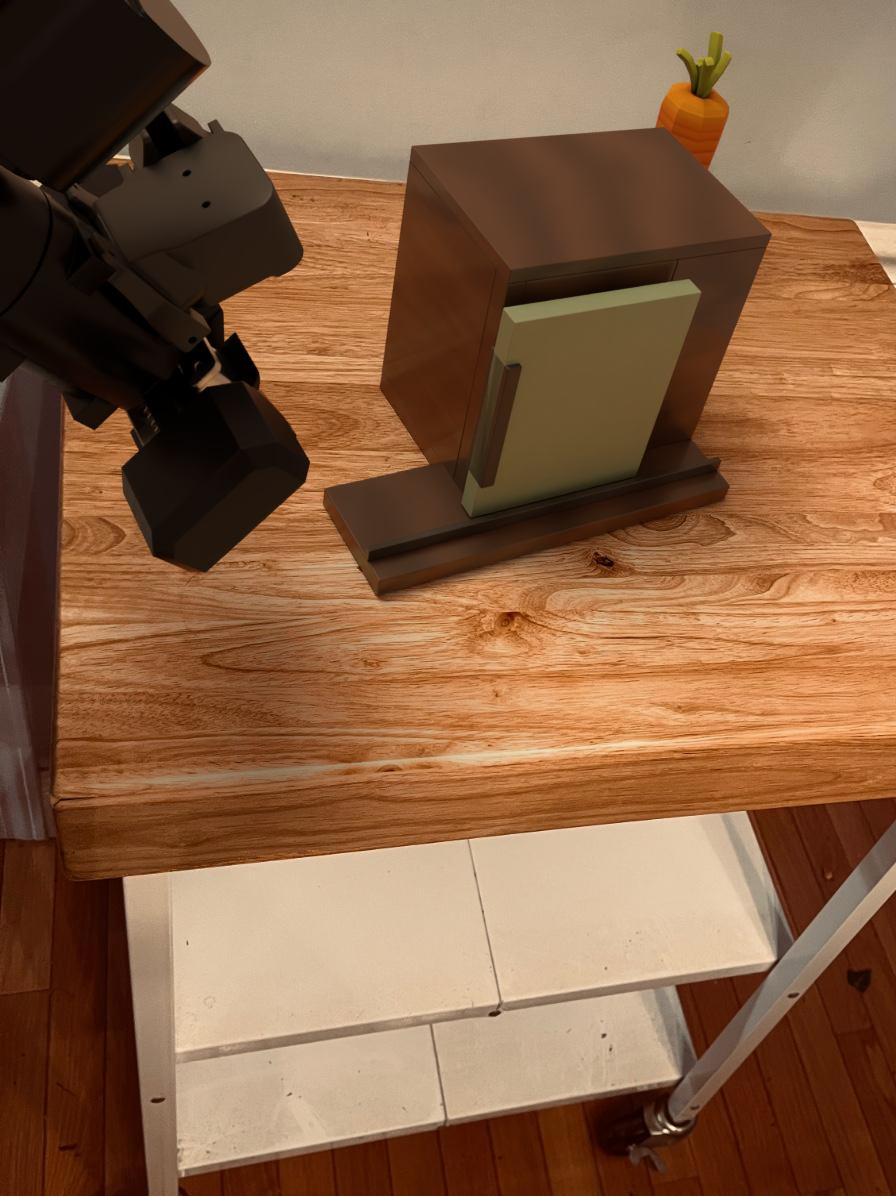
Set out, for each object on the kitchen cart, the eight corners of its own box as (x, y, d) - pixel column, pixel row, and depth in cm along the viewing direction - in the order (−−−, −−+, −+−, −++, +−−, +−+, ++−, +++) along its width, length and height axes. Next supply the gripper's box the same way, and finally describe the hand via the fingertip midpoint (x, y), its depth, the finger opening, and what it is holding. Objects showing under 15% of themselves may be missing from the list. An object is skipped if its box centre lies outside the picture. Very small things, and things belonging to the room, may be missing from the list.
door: (473, 522, 64) (518, 326, 55) (458, 499, 65) (499, 303, 55) (638, 480, 70) (705, 295, 60) (622, 459, 70) (686, 274, 61)
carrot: (663, 260, 88) (726, 64, 77) (612, 227, 90) (667, 29, 79) (700, 240, 91) (765, 49, 81) (650, 208, 93) (708, 16, 82)
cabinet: (376, 596, 61) (414, 350, 49) (266, 408, 68) (277, 154, 56) (724, 499, 72) (821, 281, 61) (599, 347, 79) (664, 126, 68)
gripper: (263, 253, 34) (518, 459, 48) (71, -46, 43) (332, 199, 57) (2, 503, 36) (319, 634, 50) (-132, 167, 45) (169, 355, 58)
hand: (286, 438), depth 53 cm, fingers closed
